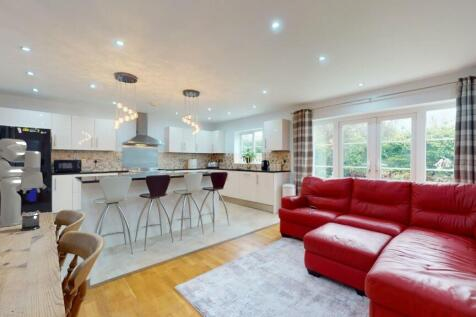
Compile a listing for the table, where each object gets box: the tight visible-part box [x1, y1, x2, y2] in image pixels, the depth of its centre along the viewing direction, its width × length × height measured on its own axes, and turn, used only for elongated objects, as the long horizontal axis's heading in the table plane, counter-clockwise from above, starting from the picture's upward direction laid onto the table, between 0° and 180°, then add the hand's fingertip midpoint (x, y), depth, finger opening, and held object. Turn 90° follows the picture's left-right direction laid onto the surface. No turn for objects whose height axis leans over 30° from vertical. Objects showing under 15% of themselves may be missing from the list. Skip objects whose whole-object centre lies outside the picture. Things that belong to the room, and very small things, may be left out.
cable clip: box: [26, 188, 37, 202], centre depth 141 cm, size 12×4×6 cm, turn 42°
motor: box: [20, 209, 41, 232], centre depth 141 cm, size 9×9×11 cm
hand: (31, 198), depth 141 cm, fingers closed on cable clip, 4 cm apart
